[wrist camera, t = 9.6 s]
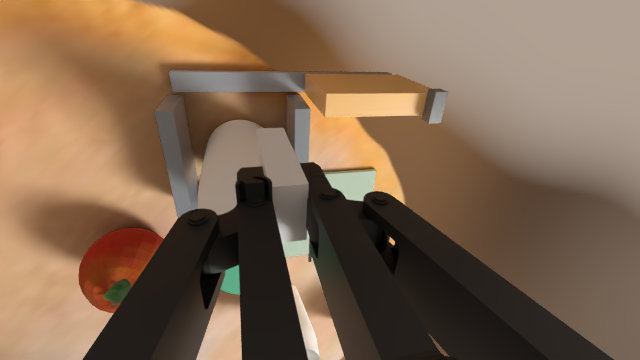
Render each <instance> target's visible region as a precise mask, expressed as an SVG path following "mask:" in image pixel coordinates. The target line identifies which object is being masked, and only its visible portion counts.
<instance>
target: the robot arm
mask: <svg viewBox="0 0 640 360" xmlns="http://www.w3.org/2000/svg"><path fill="white" fill-rule="evenodd" d="M257 147H258V166H259V167H243V168H240V170H239V171H238V172H237V181H236V184H235V189H236V199H237V205H236V206H235V208H233V209H232V210H231V211H229V212H227V213H224V214H221V215H217V214H216V212H215V211H213V210H211V209H204V208H203V209H194V210H191V211H188V212H186V213H184V214H182V215H181V216H180V217H179V218H178V219H177V221H176V222H175V224H174V225H173V227H172V228H171V230H170V231H169V233H168V234H167V236H166V237H165V239H164V240H163V242H162V243H161V245H160V246H159V247H158V249H157V250H156V252H155V253H154V255H153V256H152V258H151V259H150V261H149V262H148V264H147V265H146V267H145V268H144V270H143V271H142V273H141V274H140V276H139V277H138V278H137V280H136V281H135V283H134V284H133V286H132V287H131V289H130V290H129V292H128V293H127V295H126V296H125V298H124V299H123V301H122V302H121V304H120V305H119V307H118V308H117V310H116V311H115V312H114V314H113V315H112V317H111V318H110V320H109V321H108V323H107V324H106V326H105V327H104V329H103V330H102V332H101V333H100V335H99V336H98V338H97V339H96V341H95V342H94V343H93V345H92V346H91V348H90V349H89V351H88V352H87V354H86V355H85V357H84V358H83V360H196V358H197V355H198V352H199V349H200V346H201V343H202V341H203V338H204V335H205V332H206V329H207V326H208V323H209V320H210V317H211V314H212V312H213V309H214V306H215V303H216V300H217V297H218V294H219V291H220V288H221V286H222V283H223V280H224V277H225V270H228V269H230V268H233V267H235V266H238V265H239V281H240V311H241V341H242V360H308V357H307V353H306V348H305V344H304V339H303V335H302V330H301V326H300V321H299V317H298V312H297V308H296V303H295V299H294V294H293V290H292V285H291V281H290V276H289V272H288V268H287V263H286V259H285V254H284V250H283V245H282V243H286V242H294V241H301V240H307V231H308V234H309V257H308V259H309V262H311V257H312V258H313V261H314V264H315V267H316V270H317V273H318V276H319V279H320V282H321V286H322V289H323V292H324V295H325V298H326V301H327V304H328V307H329V310H330V313H331V316H332V319H333V322H334V326H335V329H336V332H337V335H338V338H339V341H340V344H341V347H342V350H343V353H344V356H345V359H346V360H614V359H612V358H611V357H609V356H608V355H607V354H605V353H604V352H602V351H601V350H600V349H599V348H597V347H596V346H595V345H593V344H592V343H591V342H589V341H588V340H586V339H585V338H584V337H582V336H581V335H580V334H578V333H577V332H576V331H574V330H573V329H572V328H570V327H569V326H568V325H566V324H565V323H564V322H562V321H561V320H559V319H558V318H557V317H555V316H554V315H552V314H551V313H550V312H549V311H547V310H546V309H545V308H543V307H542V306H540V305H539V304H538V303H536V302H535V301H534V300H532V299H531V298H530V297H528V296H527V295H526V294H524V293H523V292H522V291H520V290H519V289H518V288H516V287H515V286H513V285H512V284H511V283H509V282H508V281H507V280H505V279H504V278H503V277H501V276H500V275H498V274H497V273H496V272H495V271H493V270H492V269H490V268H489V267H488V266H486V265H485V264H484V263H482V262H481V261H480V260H478V259H477V258H476V257H474V256H473V255H472V254H470V253H469V252H467V251H466V250H465V249H463V248H462V247H461V246H459V245H458V244H456V243H455V242H454V241H453V240H451V239H450V238H449V237H447V236H446V235H444V234H443V233H442V232H440V231H439V230H438V229H436V228H435V227H434V226H432V225H431V224H430V223H428V222H427V221H425V220H424V219H423V218H422V217H420V216H419V215H417V214H416V213H415V212H413V211H412V210H411V209H409V208H408V207H407V206H405V205H404V204H403V203H401V202H400V201H399V200H397V199H396V198H395V197H393V196H391V195H390V194H387V193H384V192H380V191H374V192H369V193H367V194H365V196H364V198H363V201H355V200H348V199H346V198H345V196H344V194H343V193H342V192H341V191H339V190H337V189H335V188H332V186H331V185H330V183H329V181H328V179H327V178H326V177H325V174H324V173H323V171H322V169H321V167H320V166H318V165H317V164H315V163H314V162H310V163H299V161H298V159H297V157H296V154H295V152H294V150H293V148H292V146H291V143H290V141H289V139H288V137H287V134H286V132H285V130H284V128H257ZM390 237H391V238H392V239H393V240H394V241H395V245H392V244H391V243H390V242H389V239H390ZM428 333H429V334H430V335H431V336H432V337H433V338H434V339H435V341H436V342H437V343H438V344H439V345H440V346H441V347H442V349H444V350H445V352H446V353H447V354H448V355H449V356H450V357H447V356H444V355H443V354H441V353H440V351H439V350H438V349H437V347H436V345H435V344H434V342H433V340H432V339H431V337H430V336H429V334H428Z"/></svg>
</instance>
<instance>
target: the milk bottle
mask: <svg viewBox="0 0 640 360" xmlns="http://www.w3.org/2000/svg"><path fill="white" fill-rule="evenodd" d="M257 128H262V127H261V126H260V125H258V124H256V123H254V122H251V121H248V120H232V121H228V122H226V123H223V124H222V125H220V126H219V127H217V128H216V129H215V130H214V131H213V133H212V134H211V136H210V138H209V140H208V144H207V147H206V152H205V156H204V161H203V166H202V171H201V176H200V182H199V188H198V209H203V208H204V209H211V210H213V211H215V212H216V214H217V215H221V214H224V213H227V212H229V211H231V210H232V209H233V208H235V206H236V205H237V199H236V189H235V184H236V181H237V172H238V171H239V170H240V168H243V167H259V166H258V147H257ZM220 290H222V291H224V292H227V293H230V294H239V295H240V281H239V265H238V266H235V267H233V268H230V269H228V270H225V277H224V280H223V283H222V286H221V288H220Z"/></svg>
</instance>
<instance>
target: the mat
mask: <svg viewBox="0 0 640 360" xmlns="http://www.w3.org/2000/svg"><path fill="white" fill-rule="evenodd" d="M323 173H324V174H325V177H326V178H327V179H328V181H329V183H330V185H331V186H332V188H335V189H337V190H339V191H341V192H342V193H343V194H344V196H345V198H346V199H348V200H355V201H363V198H364V196H365V194H367V193H369V192H373V189H374V183H375V177H376V170H375V169H366V170H351V171H336V172H323ZM282 245H283V250H284V254H285V257H293V256H300V255H308V254H309V234H308V231H307V240H301V241H294V242H286V243H282Z"/></svg>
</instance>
